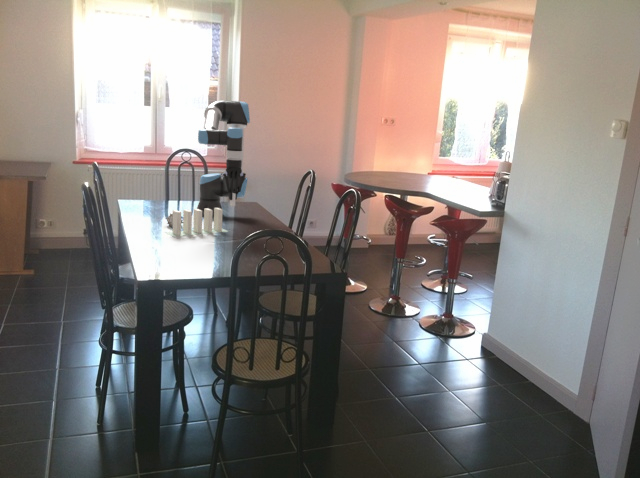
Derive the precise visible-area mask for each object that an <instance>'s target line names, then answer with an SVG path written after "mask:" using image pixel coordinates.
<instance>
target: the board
mask: <svg viewBox="0 0 640 478" xmlns="http://www.w3.org/2000/svg"><path fill="white" fill-rule="evenodd" d="M193 230H194V229H192V233H191V234H186V233H184V232H183V230H181V235H176V234H174V233H173V231H169V232H168V231H167V232H164V233H165V234H167V235H169V236H170V237H182V236H183V237H184V236H195V235H207V234H217V233H228V232H230V231H229V230H227V229H224V228H222V231H216V230H214V227H212V232H207V231H204V228H203V229H202V233H197V232H195V231H193Z"/></svg>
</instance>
